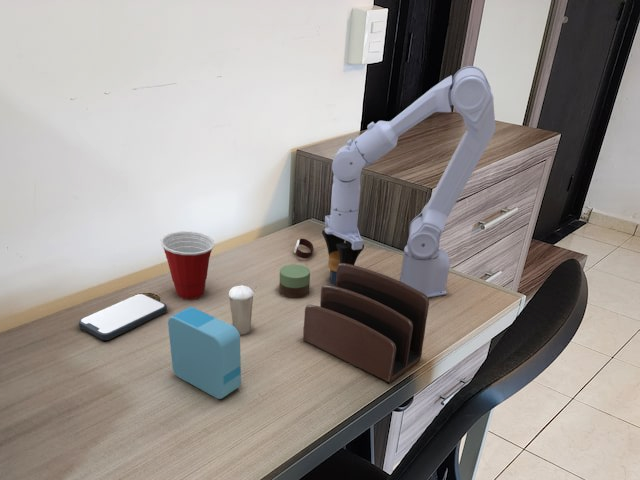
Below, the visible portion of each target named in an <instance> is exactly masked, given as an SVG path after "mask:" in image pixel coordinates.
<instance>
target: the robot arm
mask: <svg viewBox="0 0 640 480" xmlns="http://www.w3.org/2000/svg"><path fill="white" fill-rule="evenodd" d="M494 101H495V100H494V95H493V92H492V88H491V85H490V83H489V81H488V78H487V76H486V74H485V72H484V71H483V70H482V69H481V68H479V67H477V66H473V65H468V66H467V65H466V66H464V67H462V68H460V69H458V70H457V71H456V72H455V74H454V75H449V76H447V77H446V78H443V80H441V81H440V82H438V83H437V84H435V85H434V86H432V87H431V88H430V89H429V90H427V91H426V92H425V93H424V94H422V95H421V96H420V97H418V98H417V99H416V100H415V101H413V102H412V103H411V104H410V105H408V106H407V107H406V108H405V109H404V110H403V111H401V112H400V113H398V114H397V115H396V116H395V117H394V118H392V119H391V120H389V121H388V120H387V121H386V120H378V121H377V122H376V123H375V122H374V121H371V122H370V123H369V124H367V127H366V128H367V129H366V130H365V131H364V132H362V133H361V134H360V135H358V136H356V138H354V139H352V138H350V139H349V140H348V141H347V142H346V144H345V145H343V146H341V147H340V148H339V149H338V150H337V152H336V154H335V155H334V158H333V159H332V163H331V170H332V174H333V177H332V181H333V182H332V186H331V199H330V200H331V201H330V214H329V215H325V217H324V225H325V226H327V227H325V228H324V229H323V230H322V231H321V234H322V236H323V238H324V241H325V244H326V248H327V253H328V255H329V254H330V253H331V252H334V251H338V252H339V256H340V263H346V264H350V265H355V264H356V261H357V259H358V257H359V256H360V254H361V253H362V251H363V250H364V249H365V244H364V240H363V238H362V237H361V234H360V230H359V227H358V222H359V213H360V212H359V210H360V201H361V189H362V187H361V177H362V176H361V175H362V171H363V168H366V167H369V166H371V165H372V164H373V163H375V162H377V161H378V160H380V159H381V158H382V157H384V156H385V155H386V154H388V153H389V152H391V151H392V150H393V149H395V148H396V147H397V145H398V140H399V137H400V136H401V135H403V134H404V133H407V131H409V130H411V129H412V128H414V127H415V126H416V125H418V124H419V123H421V122H422V121H424V120H425V119H428V118H429V117H430V116H432V115H433V114H435V113H452V106H453V107H454V109H455V110H456V111H457V112H458V113H459V115H460V116H461V118H462V120H463V122H464V126H465V128H466V129H465V131H464V133H463V135H462V137H461V138H460V141H459V143H458V145H457V147H456V148H455V150H454V153H453V154H452V156H451V158H450V160H449V162H448V164H447V166H446V167H445V169H444V171H443V173H442V175H441V177H440V179H439V181H438V183H437V185H436V187H435V189H434V191H433V193H432V195H431V197H430V198H429V200H428V202H427V203H426V204H425V205H424V206H423V208H422V210H421V212H420V213H419V214H418V215H417V216H415V217H414V218H413V219H412V220H411V221H410V223H409V228H408V230H409V231H408V232H409V233H408V238H407V242H406V245H405V246H404V248H403V255H402V262H401V269H400V276H399V281H400V282H402V283H405V284H406V285H408V286H410V287H412V288H414V289H416V290H418V291H420V292H422V293H423V294H425V295H426V296H427V297H428V298H434V297H439V296H445V295H448V291H447V290H446V289H447V283H448V278H449V272H450V267H451V266H450V264H451V263H450V256H449V253H448V252H447V251H446V250H445V249H443V248H440V243H441V242H440V239H441V236H442V235H443V234H442V233H443V232H444V230H445V227H446V224H447V221H448V218H449V216H450V214H451V212H452V211H453V209H454V207H455V205H456V203H458V202H457V201H458V200H459V198H460V196H461V194H462V193H463V190H464V189H465V187H466V185H467V183H468V182H469V179H470V178H471V176H472V174H473V172H474V171H475V169H476V167H477V165H478V164H479V162H480V160H481V157H482V156H483V154H484V153H485V151H486V149H487V147H488V146H489V144H490V141H492V138H493V136H494V135H495V132H496V116H495V115H496V114H495V104H494Z"/></svg>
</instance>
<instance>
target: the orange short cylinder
mask: <svg viewBox="0 0 640 480" xmlns="http://www.w3.org/2000/svg"><path fill="white" fill-rule="evenodd" d="M339 263H340V256H339V252H338V251H334V252H331V253H330V254H328V261H327V267H328V269H329V271H330V270H332V271H335V272H337V266H338V264H339Z"/></svg>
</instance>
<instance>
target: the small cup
mask: <svg viewBox="0 0 640 480" xmlns="http://www.w3.org/2000/svg"><path fill="white" fill-rule="evenodd" d="M336 276H337V272H335V271H332V270H330V269H329V284H330V285H332V286H336Z"/></svg>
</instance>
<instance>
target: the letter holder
mask: <svg viewBox="0 0 640 480" xmlns="http://www.w3.org/2000/svg"><path fill="white" fill-rule="evenodd" d="M319 302H320V305H314V304H307V305H306V306H305V307H304V318H303V331H302V333H303V334H302V340H303V341H304V342H307V343H308V344H311V345H313V346H314V347H316V348H318V349H320V350H323V351H325V352H326V353H328V354H331V355H332V356H335V357H337V358H338V359H340V360H342V361H345V362H346V363H348V364H351V365H353V366H354V367H357V368H358V369H361V370H363V371H365V372H367V373H369V374H371V375H373V376H375V377H377V378H378V379H381V380H383V381H385V382H387V383H389V384H391V383H392V382H393V381H394V380H396V379H398V378H399V377H401V376H402V375H403V374H404V373H406V372H407V371H409V370H410V369H411V368H413V367H414V366H415V365H417V364H418V363H419V362H420V361H421V359H422V355H423V347H424V340H425V334H426V333H425V332H426V327H427V320H428V314H429V306H430V301H429V297H427V296H426V295H425V294H423V293H422V292H420V291H418V290H416V289H414V288H412V287H410V286H408V285H406V284H405V283H402V282H400V280H397V279H395V278H393V277H390V276H388V275H385V274H383V273H380V272H377V271H374V270H371V269H368V268H365V267H362V266H358V265H355V264H354V265H350V264H346V263H339V264H338V266H337V276H336V286H335V285H333V284H326V283H325V284H324V285H323V286H321V288H320V301H319Z"/></svg>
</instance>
